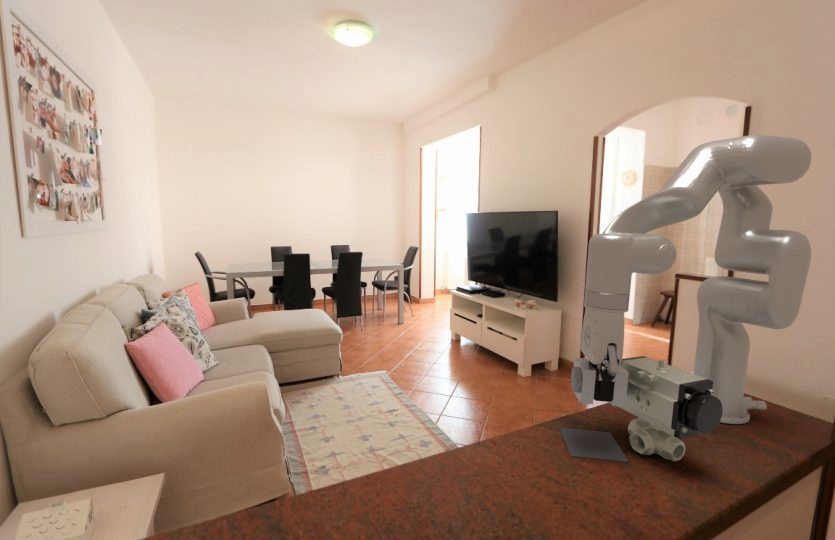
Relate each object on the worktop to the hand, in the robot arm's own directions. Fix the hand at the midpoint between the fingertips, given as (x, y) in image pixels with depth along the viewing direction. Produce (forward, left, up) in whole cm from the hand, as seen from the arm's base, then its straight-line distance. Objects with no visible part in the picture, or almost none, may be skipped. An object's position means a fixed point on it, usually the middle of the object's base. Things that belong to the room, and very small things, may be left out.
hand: (597, 393), depth 76 cm
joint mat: (0, 0, -11) cm, 11 cm away
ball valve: (-11, 0, -11) cm, 15 cm away
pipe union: (0, 0, -1) cm, 1 cm away
